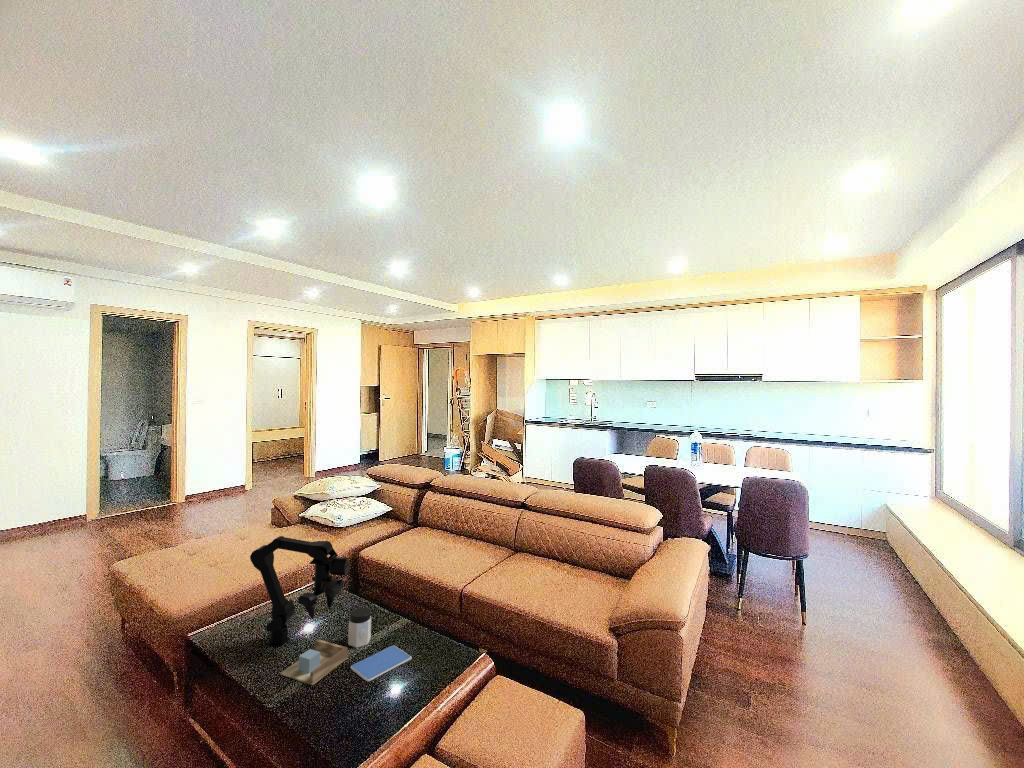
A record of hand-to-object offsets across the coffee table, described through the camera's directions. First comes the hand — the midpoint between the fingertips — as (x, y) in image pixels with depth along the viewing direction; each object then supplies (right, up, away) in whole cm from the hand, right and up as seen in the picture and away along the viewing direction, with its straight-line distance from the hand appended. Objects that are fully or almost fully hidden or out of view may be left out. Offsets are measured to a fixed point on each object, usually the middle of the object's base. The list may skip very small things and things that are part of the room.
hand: (320, 612), depth 178 cm
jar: (+15, -13, +1) cm, 20 cm away
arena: (+5, -12, -16) cm, 20 cm away
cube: (+3, -11, -18) cm, 21 cm away
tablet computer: (+29, -13, -13) cm, 34 cm away
